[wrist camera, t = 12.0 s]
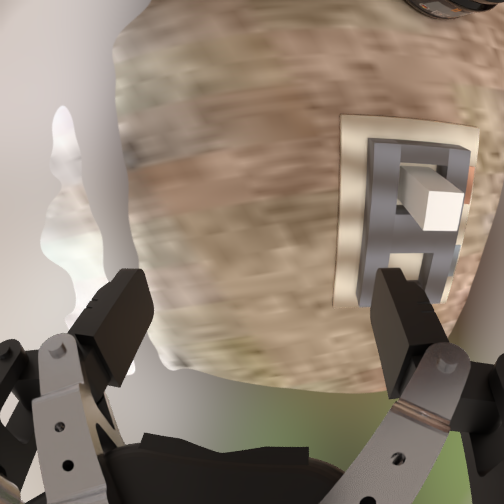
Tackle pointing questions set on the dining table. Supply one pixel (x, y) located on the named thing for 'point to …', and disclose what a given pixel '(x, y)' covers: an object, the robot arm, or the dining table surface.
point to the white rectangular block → (430, 198)
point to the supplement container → (452, 7)
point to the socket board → (397, 204)
